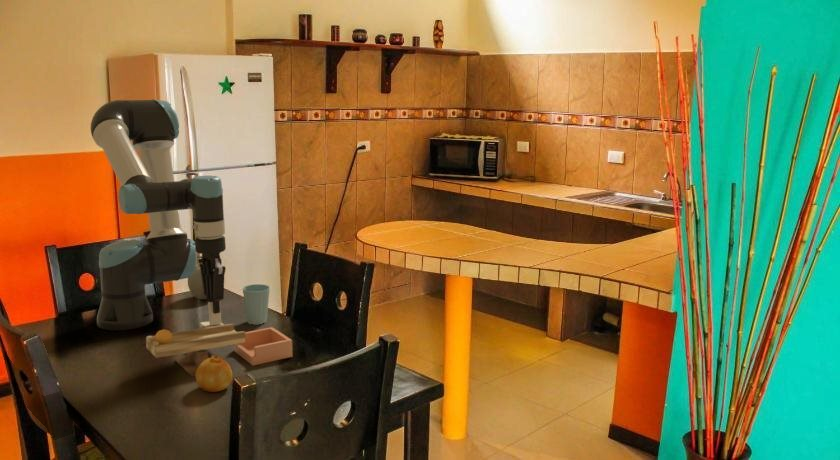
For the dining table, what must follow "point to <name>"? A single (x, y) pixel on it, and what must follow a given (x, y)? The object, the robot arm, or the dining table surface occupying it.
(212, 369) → the fruit
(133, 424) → the dining table surface
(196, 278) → the fruit
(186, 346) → the lever
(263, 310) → the cup
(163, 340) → the ball
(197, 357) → the fulcrum
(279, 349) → the dish
